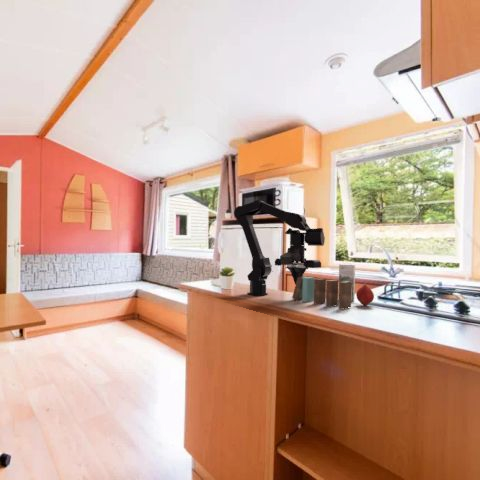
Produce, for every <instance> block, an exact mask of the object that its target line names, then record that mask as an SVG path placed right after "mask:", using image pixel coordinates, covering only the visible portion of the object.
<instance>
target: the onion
mask: <svg viewBox="0 0 480 480" xmlns="http://www.w3.org/2000/svg"><path fill="white" fill-rule="evenodd" d="M374 298H375V294H374V292H373V290H372V289H371V288H370V287H369V286H368V285H367V283H364V284H363V286H361V287H359V288H358V290H357V291H356V299H357V300H358V302H359V303H360V304H361V305H362V306H363V307H367V306H368V305H370V303H372V302H373V301H374Z"/></svg>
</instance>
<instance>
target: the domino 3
mask: <svg viewBox="0 0 480 480" xmlns="http://www.w3.org/2000/svg"><path fill="white" fill-rule="evenodd" d="M326 281H327V279H326V278H314V301H313V304H314V305H322V303H323V304H326Z"/></svg>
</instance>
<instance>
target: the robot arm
mask: <svg viewBox="0 0 480 480" xmlns="http://www.w3.org/2000/svg"><path fill="white" fill-rule="evenodd" d="M259 212H264V213H265V214H267V215H270V216H272V217H274V218H277V219H279V220H281V221H283V222H284V223H285V224H287V225H288V226H289V227H291V228H288V229H287V230H286V231H285V232H284V234H285V235H289V247H288V248H287V251H286V252H285V253H282V254H281V255H279V258H275V259H274V266H277V267H279V266H285V268H286V269H288V270H289V272H290V274H291V276H292V280H293V282H294V284H295V286H296V282H297V279H298V277H302V276H303V275H304V274H305V272H306V271H307V270H309V269H317V268H319V269H320V268H322V262H321V261H320V259H318V260H317V259H307V258H305V251H307V248H306V247H305V244H307V246H311V247H313V246H315V247H317V246H318V247H320V246H321V247H323V246H325V240H326V237H325V234H324V233H325V232H324V228H323V227H318V228H311V227H310V226H309V224H308V223H307V218H306V217H305V216H304V215H302V214H298V213H295V212H292V211H285V210H283V209H280V208H278V207H276V206H274V205H271V204H269V203H267V202H265V201H263V200H261V199H257V200H255V201H252V202H250V203H246V204H244V205H238V206H236V207H235V208H234V211H233V214H234V215H233V216H234V217H235V220H236V221H237V223H238V224H239V226H241V228H242V231H243V234H244V237H245V239H246V243H247V246H248V248H249V252H250V254H251V268H252V270H251V271H250V272H249V273H248V274H247V275H246V276H247V279H248V281H249V292H246V294H247V295H252V296H258V297H261V296H267V295H268V294H269V293H268V292H267V284H266V283H267V281H266V280H267V279H268V277H269V276H270V275H271V273H272V267H273V265H272V264H271V261H270V257H265V255H264V254H263V251H262V249H261V246H260V245H261V244H260V243H259V242H260V241H259V239H258V236H257V234H256V231H255V228H254V225H253V223H254V216H255V215H257V214H258V213H259ZM301 231H304V232H301Z"/></svg>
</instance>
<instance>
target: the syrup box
mask: <svg viewBox="0 0 480 480" xmlns="http://www.w3.org/2000/svg"><path fill="white" fill-rule="evenodd" d="M355 276H356V264H355V263H341V262H340V263H339V264H338V283H339V282H344V281H349V282H351V302H354V301H355V285H356V284H355V282H356V281H355V280H356V277H355Z"/></svg>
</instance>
